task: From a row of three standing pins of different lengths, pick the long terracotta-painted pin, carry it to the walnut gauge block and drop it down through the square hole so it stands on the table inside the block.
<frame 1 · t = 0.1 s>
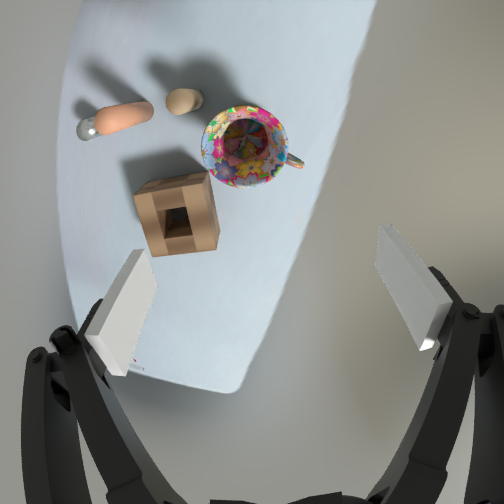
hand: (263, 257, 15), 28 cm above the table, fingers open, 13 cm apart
short pin: (101, 124, 36), on the table
mug: (255, 137, 38), on the table
long pin: (143, 111, 35), on the table
gauge block: (183, 206, 43), on the table
medium pin: (192, 99, 35), on the table
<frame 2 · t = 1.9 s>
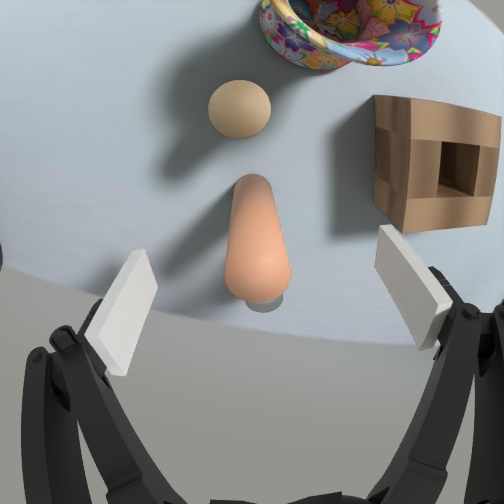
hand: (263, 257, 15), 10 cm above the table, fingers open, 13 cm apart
short pin: (261, 264, 28), on the table
mug: (318, 12, 16), on the table
long pin: (252, 191, 24), on the table
gauge block: (421, 151, 22), on the table
medium pin: (241, 104, 20), on the table
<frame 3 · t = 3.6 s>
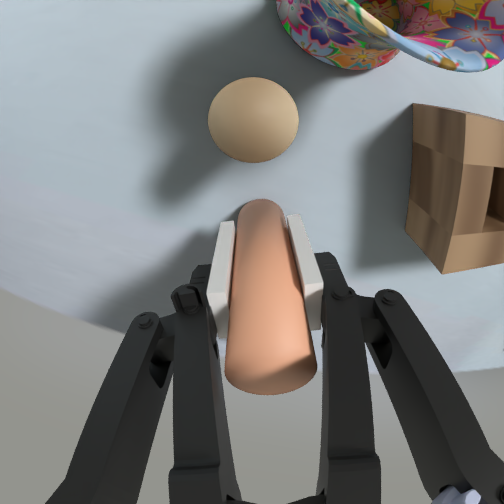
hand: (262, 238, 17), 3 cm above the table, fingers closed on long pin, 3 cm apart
mug: (347, 0, 12), on the table
long pin: (261, 220, 19), point 1 cm above the table, touching gripper
gauge block: (459, 171, 17), on the table
medium pin: (253, 110, 16), on the table
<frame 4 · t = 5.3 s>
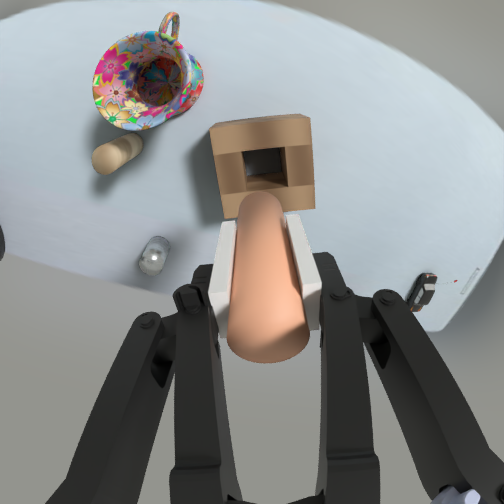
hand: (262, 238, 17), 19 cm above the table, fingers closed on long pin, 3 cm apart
toy car: (422, 280, 45), on the table
short pin: (159, 246, 40), on the table
mug: (173, 72, 28), on the table
long pin: (260, 211, 21), point 15 cm above the table, touching gripper
gauge block: (262, 156, 33), on the table
medium pin: (131, 144, 32), on the table
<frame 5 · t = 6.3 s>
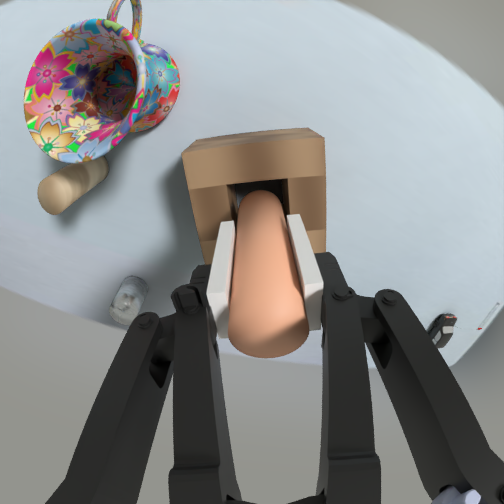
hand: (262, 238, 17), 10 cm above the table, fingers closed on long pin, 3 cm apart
toy car: (439, 320, 37), on the table
short pin: (135, 286, 32), on the table
mug: (143, 74, 20), on the table
long pin: (260, 210, 21), point 6 cm above the table, touching gripper
gauge block: (258, 184, 26), on the table
medium pin: (95, 167, 25), on the table
when the fingers open (7 cm above the table, at t = 7.2 s): long pin drops 3 cm, resting in gauge block.
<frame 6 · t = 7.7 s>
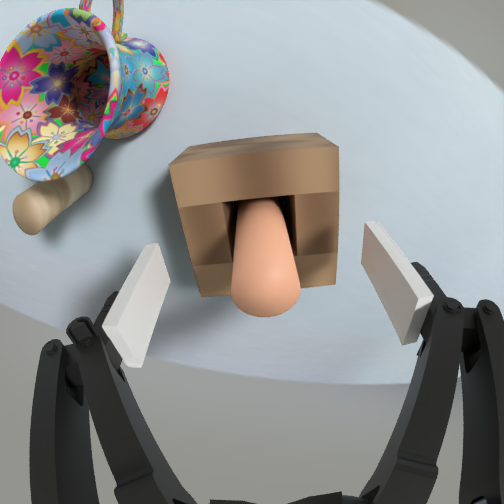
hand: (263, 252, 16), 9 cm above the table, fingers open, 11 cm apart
mug: (128, 72, 18), on the table
long pin: (258, 198, 23), resting in gauge block
gauge block: (259, 197, 23), on the table
medium pin: (78, 178, 22), on the table
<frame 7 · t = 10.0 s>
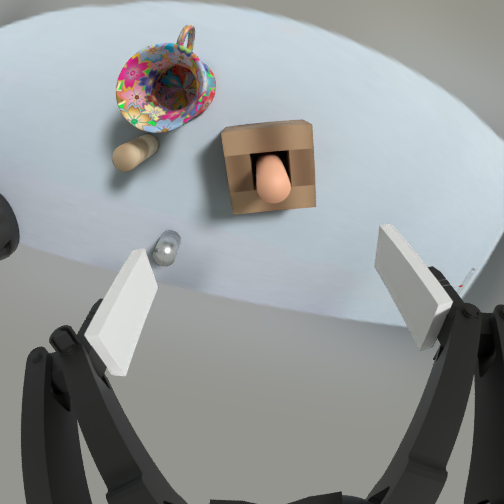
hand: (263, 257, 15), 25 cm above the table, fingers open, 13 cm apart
short pin: (170, 239, 43), on the table
mug: (187, 79, 31), on the table
long pin: (267, 159, 36), resting in gauge block
gauge block: (268, 158, 36), on the table
medium pin: (147, 144, 35), on the table
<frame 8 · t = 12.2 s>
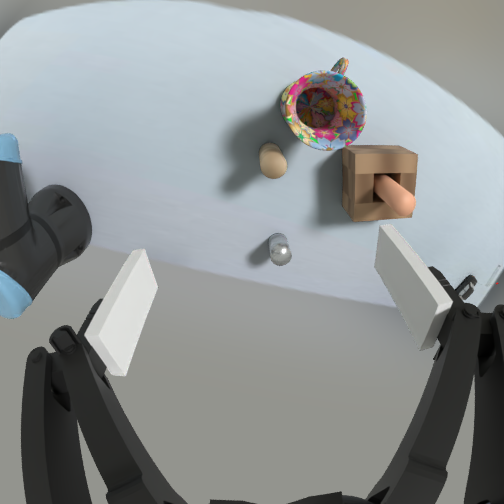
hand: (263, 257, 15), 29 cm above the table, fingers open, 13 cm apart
toy car: (465, 281, 54), on the table
short pin: (277, 241, 48), on the table
mug: (312, 98, 36), on the table
long pin: (370, 175, 41), resting in gauge block
gauge block: (371, 175, 41), on the table
medium pin: (269, 153, 40), on the table
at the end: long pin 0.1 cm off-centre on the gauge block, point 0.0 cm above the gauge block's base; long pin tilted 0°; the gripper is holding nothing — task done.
